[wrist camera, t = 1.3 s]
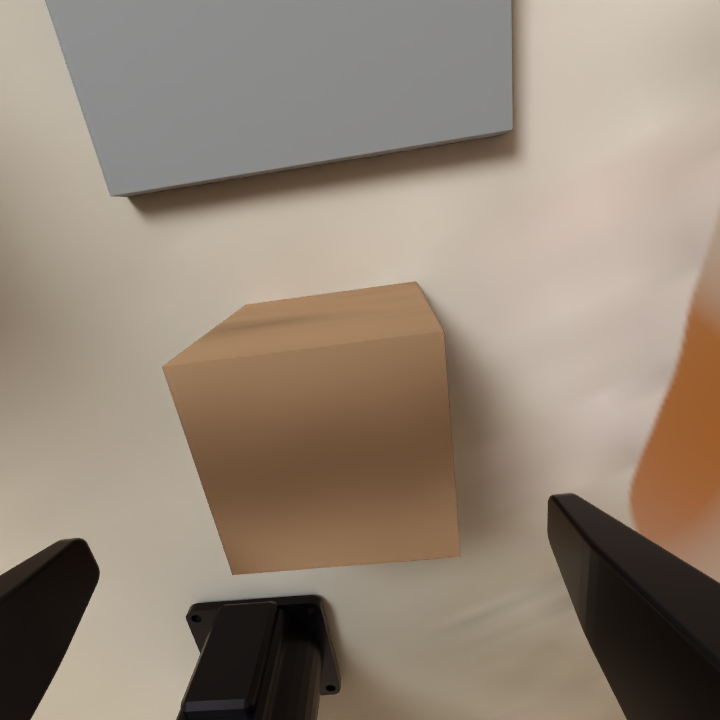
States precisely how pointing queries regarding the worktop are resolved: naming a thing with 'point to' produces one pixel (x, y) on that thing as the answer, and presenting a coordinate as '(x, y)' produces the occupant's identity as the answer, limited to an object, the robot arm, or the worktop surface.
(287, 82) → the slate mat
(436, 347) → the walnut cube
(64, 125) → the worktop surface
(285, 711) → the robot arm
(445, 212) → the worktop surface
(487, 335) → the worktop surface
